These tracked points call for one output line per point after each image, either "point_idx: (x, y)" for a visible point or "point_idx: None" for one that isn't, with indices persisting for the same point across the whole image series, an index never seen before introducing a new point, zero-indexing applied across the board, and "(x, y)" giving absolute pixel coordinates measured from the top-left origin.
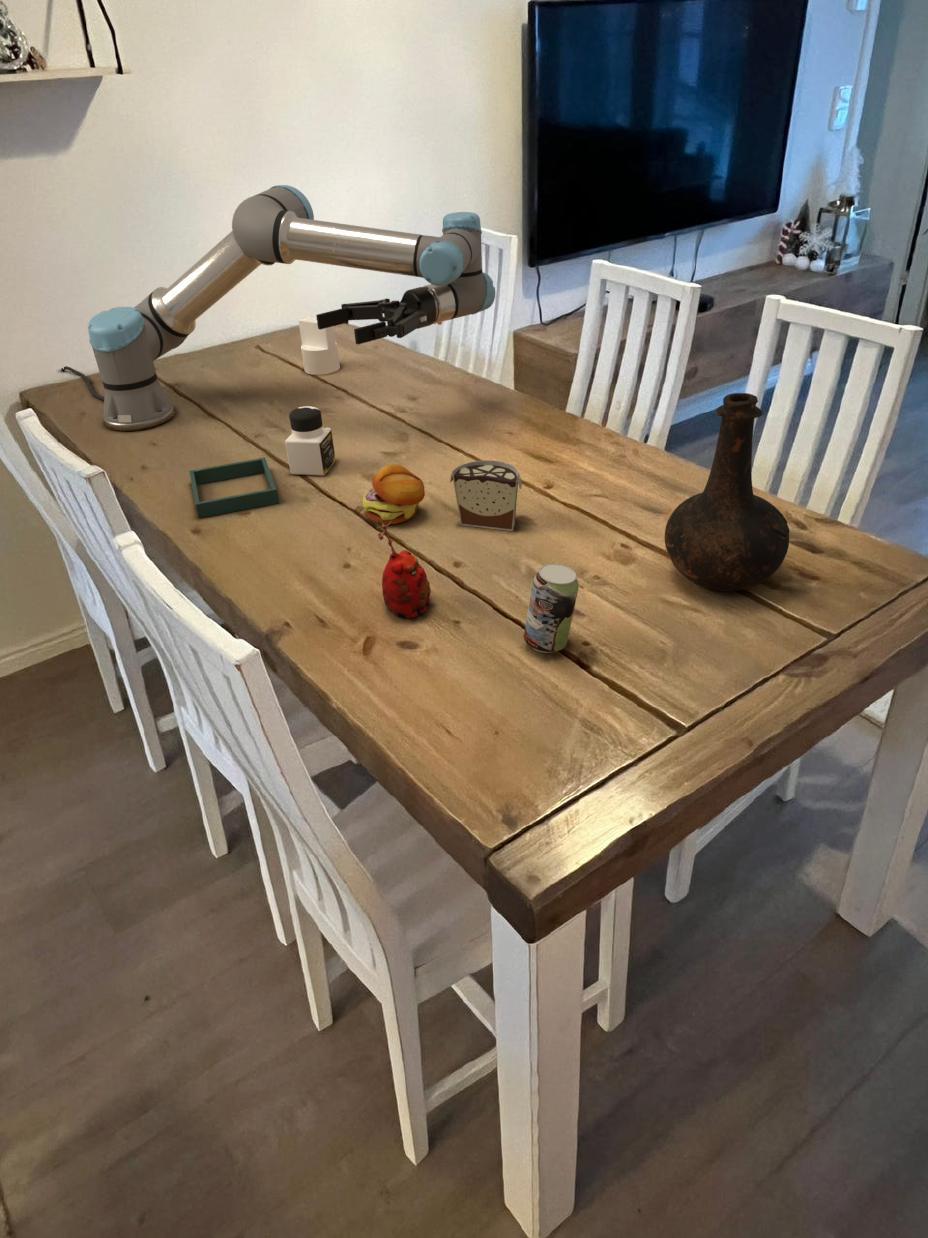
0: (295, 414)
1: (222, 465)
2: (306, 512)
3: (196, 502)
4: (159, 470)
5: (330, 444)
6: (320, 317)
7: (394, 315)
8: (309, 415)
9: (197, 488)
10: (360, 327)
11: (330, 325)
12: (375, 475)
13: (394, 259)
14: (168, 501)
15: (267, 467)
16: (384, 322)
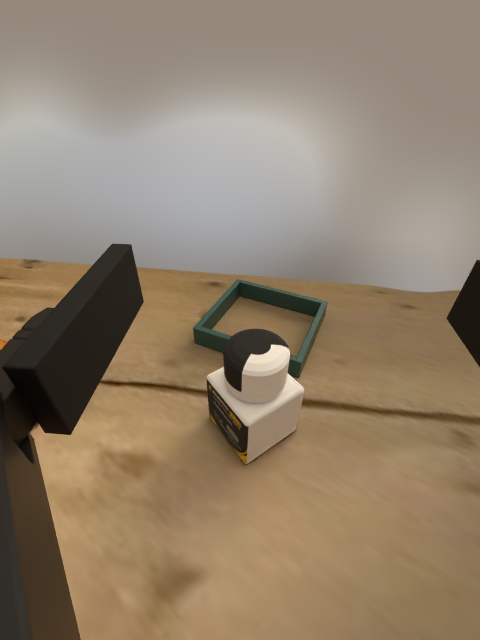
0: (252, 330)
1: (315, 324)
2: (144, 348)
3: (241, 281)
4: (389, 311)
5: (234, 428)
6: (477, 278)
7: (14, 606)
8: (229, 342)
9: (298, 308)
10: (115, 261)
11: (476, 354)
12: (5, 343)
13: None
14: (297, 292)
15: None
16: (10, 359)
